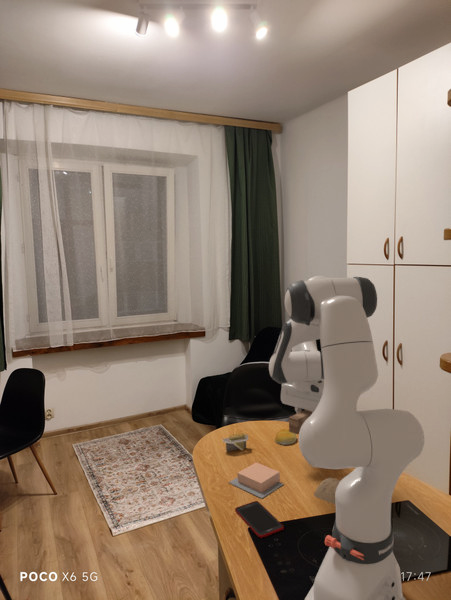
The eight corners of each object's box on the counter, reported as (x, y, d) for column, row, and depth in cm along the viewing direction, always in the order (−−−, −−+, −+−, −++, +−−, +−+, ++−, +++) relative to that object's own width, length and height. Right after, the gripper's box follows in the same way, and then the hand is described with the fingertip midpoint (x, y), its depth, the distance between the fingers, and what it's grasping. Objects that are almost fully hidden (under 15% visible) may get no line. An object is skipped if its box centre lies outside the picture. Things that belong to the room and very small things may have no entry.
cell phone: (257, 503, 126) (257, 500, 126) (285, 530, 113) (285, 526, 113) (233, 511, 123) (233, 508, 123) (260, 540, 110) (259, 536, 110)
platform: (265, 454, 157) (264, 437, 157) (218, 463, 152) (217, 445, 152) (254, 441, 169) (253, 425, 168) (210, 449, 164) (209, 432, 163)
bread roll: (274, 445, 164) (273, 435, 163) (276, 435, 172) (276, 426, 172) (295, 446, 162) (295, 436, 161) (297, 436, 170) (297, 426, 170)
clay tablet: (341, 511, 120) (341, 502, 120) (310, 499, 127) (310, 490, 127) (363, 489, 131) (363, 480, 131) (334, 478, 138) (333, 471, 138)
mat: (261, 498, 128) (261, 497, 128) (229, 483, 138) (229, 482, 138) (283, 484, 135) (283, 483, 135) (250, 470, 145) (250, 469, 145)
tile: (279, 480, 137) (261, 492, 130) (256, 470, 144) (238, 481, 138) (279, 471, 136) (261, 483, 130) (256, 462, 144) (237, 472, 137)
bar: (297, 434, 142) (297, 419, 141) (289, 431, 144) (288, 417, 144) (324, 420, 153) (324, 406, 152) (316, 417, 155) (315, 404, 155)
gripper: (276, 379, 152) (277, 416, 153) (325, 389, 137) (327, 431, 139) (287, 375, 156) (288, 411, 158) (336, 384, 142) (337, 425, 143)
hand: (307, 420), depth 148 cm, fingers closed on bar, 3 cm apart
